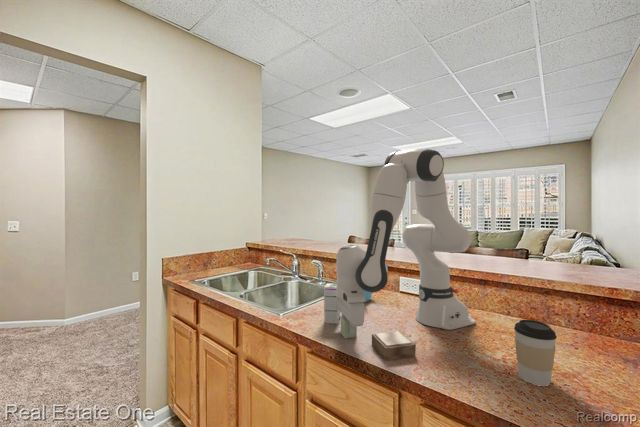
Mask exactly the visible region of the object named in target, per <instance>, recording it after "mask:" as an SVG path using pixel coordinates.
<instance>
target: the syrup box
mask: <svg viewBox="0 0 640 427" xmlns="http://www.w3.org/2000/svg"><path fill="white" fill-rule="evenodd" d="M323 307H324V309H323V310H324V313H323V314H324V317H323V320H324V321H323V322H324V323H326V324H337V325H338V324H339V322H341V312H340V311H339V310H338V308H337V307H336V282H334V283H332V282H331V283H326V284H325V285H324V287H323Z"/></svg>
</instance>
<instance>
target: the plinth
mask: <svg viewBox="0 0 640 427" xmlns="http://www.w3.org/2000/svg"><path fill="white" fill-rule="evenodd" d="M371 346H372V347H373V348H374V349H375V351H377V353H378V354H379V355H380V356H381V357H382V358H383V359H384V361H390V360H398V359H399V360H400V359H405V358H411V357H412V358H413V357H416V355H417V354H416V346H417V345H416V343H414V342H413V341H412V340H411V339H409V338H408V337H407V336H405V334H403V333H402V332H401V331H400V330H397V331H387V332H378V333H372V334H371Z"/></svg>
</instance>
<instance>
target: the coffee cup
mask: <svg viewBox="0 0 640 427" xmlns="http://www.w3.org/2000/svg"><path fill="white" fill-rule="evenodd" d="M513 329H514V333H515V334H514V336H515V337H514V340H515V342H514V343H515V353H516V354H515V355H516V361H517V372H518V377H519V379H521V380H522V379H523V380H524V381H523V380H522V381H523V382H525V381H527V382H529V383H532V384H535V385H540V386H547V385H549V384H550V383H551V384H552V380H551V379H552V373H553V370H554V364H555V353H556V345H555V344H556V339H558V338H557V335H556V332H555V330H554V329H552V327H551V325H549V324H547V323H545V322H543V321H538V320H535V319H534V320H533V319H520V320H519V321H517V322H516V323H514V328H513ZM527 382H526V383H527ZM529 383H528V384H529ZM532 384H531V385H532ZM551 384H550V385H551ZM535 385H534V386H535Z"/></svg>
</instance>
